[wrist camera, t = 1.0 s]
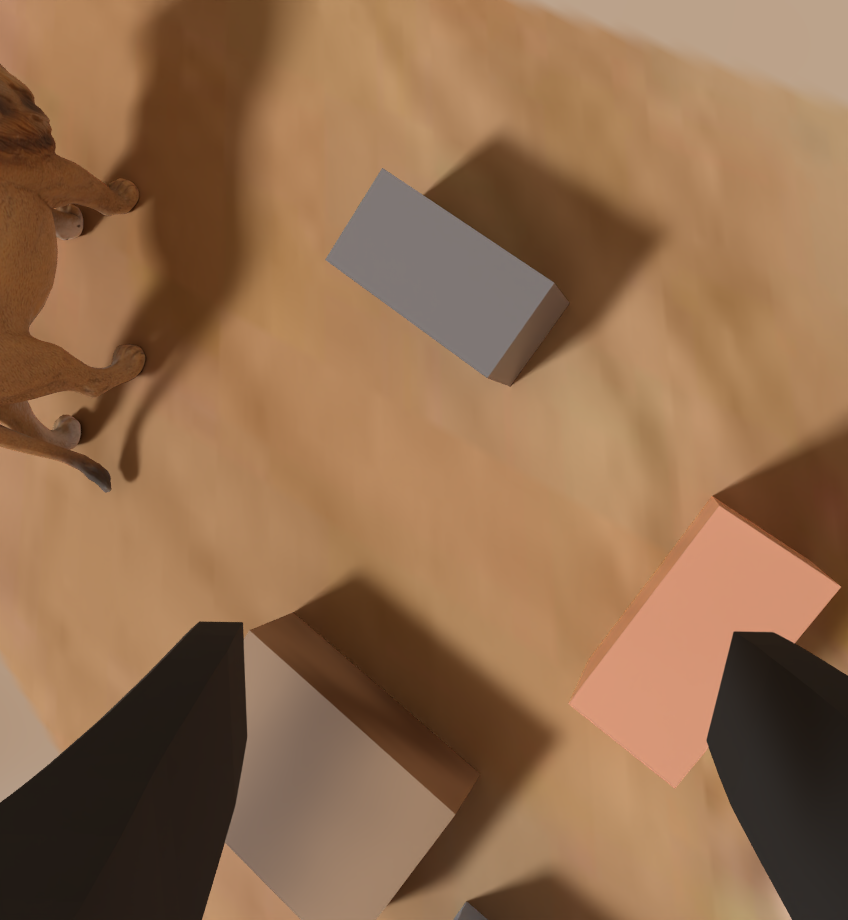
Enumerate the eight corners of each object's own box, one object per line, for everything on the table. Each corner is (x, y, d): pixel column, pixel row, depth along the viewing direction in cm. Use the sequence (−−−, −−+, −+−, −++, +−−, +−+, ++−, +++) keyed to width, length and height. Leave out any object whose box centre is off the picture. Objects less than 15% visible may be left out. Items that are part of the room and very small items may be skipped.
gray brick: (570, 304, 22) (554, 282, 19) (511, 387, 22) (487, 378, 20) (418, 202, 23) (382, 168, 20) (367, 281, 24) (325, 259, 21)
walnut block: (483, 769, 23) (455, 814, 20) (382, 902, 24) (343, 962, 21) (298, 610, 25) (249, 630, 22) (214, 740, 26) (158, 774, 23)
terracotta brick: (810, 560, 20) (841, 586, 16) (676, 727, 21) (674, 788, 17) (712, 495, 20) (719, 505, 17) (587, 659, 22) (568, 703, 18)
